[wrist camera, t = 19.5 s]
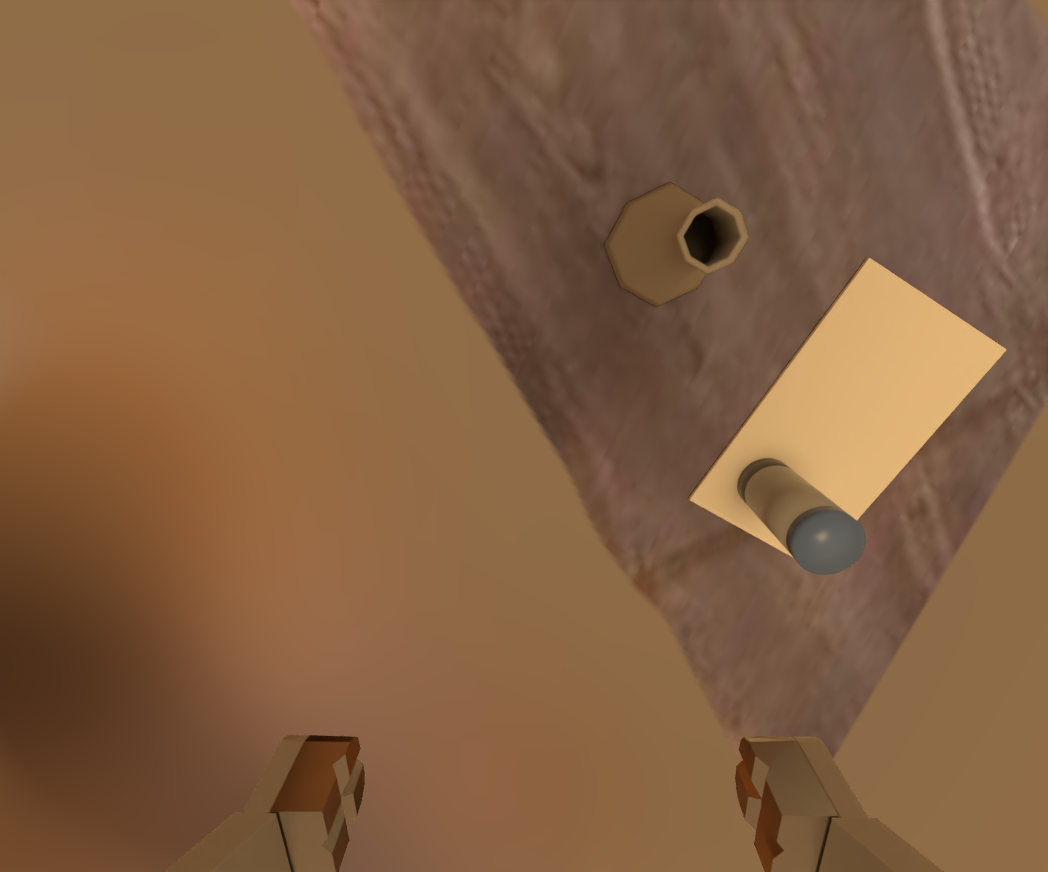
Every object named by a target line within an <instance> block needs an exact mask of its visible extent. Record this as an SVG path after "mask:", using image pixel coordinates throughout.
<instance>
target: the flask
mask: <svg viewBox="0 0 1048 872" xmlns="http://www.w3.org/2000/svg"><path fill="white" fill-rule="evenodd" d="M748 238H749V236H748V233H747V230H746V227H745V223H744V220H743V217H742V214H741V211H740V210H738V209H737V208H735V207H734V206H732V205H730V204H729V203H727V202H725V201H724V200H722V199H721V198H719V197H716V198H714V199H712V200H710V201H708V202H705V203H703V202H702V201H700V200H699V199H697V198H695V197H694V196H692V195H690V194H689V193H687V192H686V191H684V190H682V189H681V188H679V187H677V186H676V185H674V184H673V183H671V182H668V183H666V184H664V185H662V186H660V187H658V188H656V189H654V190H652V191H650V192H648V193H646V194H644V195H642V196H640V197H638V198H636V199H634V200H632V201H630V202H628V203H627V204H626V206H625V208H624V209H623V211H622V213H621V215H620V217H619V219H618V220H617V222H616V224H615V226H614V228H613V230H612V231H611V233H610V235H609V237H608V239H607V240H606V242H605V244H604V247H605V249H606V252H607V254H608V257H609V259H610V262H611V264H612V267H613V269H614V272H615V275H616V277H617V280H618V282H619V285H620V287H622V288H624V289H625V290H627V291H629V292H631V293H632V294H634V295H636V296H638V297H639V298H641V299H643V300H645V301H646V302H648V303H650V304H652V305H653V306H655V307H658V306H660V305H662V304H664V303H667V302H669V301H671V300H673V299H675V298H677V297H680V296H682V295H684V294H686V293H688V292H690V291H693V290H695V289H697V287H698V286H699V284H700V283H701V281H702V279H703V278H704V276H705V274H709V273H711V272H714V271H716V270H718V269H720V268H722V267H724V266H727V265H729V264H731V263H733V262H734V260H735V259H736V257H737V255H738V254H739V252H740V251H741V249H742V247H743V246H744V244H745V243H746V241H747V240H748Z"/></svg>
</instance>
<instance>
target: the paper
mask: <svg viewBox="0 0 1048 872" xmlns="http://www.w3.org/2000/svg"><path fill="white" fill-rule="evenodd" d="M1005 351H1006V349H1005V348H1003V347H1002V346H1000V345H999V344H997V343H996V342H994V341H993V340H991V339H990V338H988V337H987V336H985V335H984V334H983V333H981V332H980V331H978V330H977V329H975V328H974V327H972V326H971V325H969V324H968V323H966V322H965V321H963V320H962V319H960V318H959V317H957V316H956V315H954V314H953V313H951V312H950V311H948V310H947V309H945V308H944V307H942V306H941V305H939V304H938V303H936V302H935V301H933V300H932V299H930V298H929V297H927V296H926V295H924V294H923V293H921V292H920V291H918V290H917V289H915V288H914V287H912V286H911V285H909V284H908V283H906V282H905V281H903V280H902V279H900V278H899V277H898V276H896V275H895V274H893V273H892V272H890V271H889V270H887V269H886V268H884V267H883V266H881V265H880V264H878V263H877V262H875V261H874V260H872V259H871V258H866V259H865V261H864V262H863V263H862V265H861V266H860V267H859V269H858V270H857V272H856V273H855V274H854V276H853V277H852V278H851V280H850V281H849V282H848V284H847V285H846V286H845V288H844V289H843V290H842V292H841V293H840V294H839V296H838V297H837V298H836V300H835V301H834V303H833V304H832V305H831V307H830V308H829V309H828V311H827V312H826V313H825V315H824V316H823V317H822V319H821V320H820V321H819V323H818V324H817V325H816V327H815V328H814V329H813V331H812V332H811V333H810V335H809V336H808V338H807V339H806V340H805V342H804V343H803V344H802V346H801V347H800V348H799V350H798V351H797V352H796V354H795V355H794V356H793V358H792V359H791V360H790V362H789V363H788V364H787V366H786V367H785V369H784V370H783V371H782V373H781V374H780V375H779V377H778V378H777V379H776V381H775V382H774V383H773V385H772V386H771V387H770V389H769V390H768V391H767V393H766V394H765V395H764V397H763V398H762V399H761V401H760V402H759V404H758V405H757V406H756V408H755V409H754V410H753V412H752V413H751V414H750V416H749V417H748V418H747V420H746V421H745V422H744V424H743V425H742V426H741V428H740V429H739V430H738V432H737V433H736V434H735V436H734V437H733V439H732V440H731V441H730V443H729V444H728V445H727V447H726V448H725V449H724V451H723V452H722V453H721V455H720V456H719V457H718V459H717V460H716V461H715V463H714V464H713V465H712V467H711V468H710V470H709V471H708V472H707V474H706V475H705V476H704V478H703V479H702V480H701V482H700V483H699V484H698V486H697V487H696V488H695V490H694V491H693V492H692V494H691V495H690V496H689V498H688V499H689V500H690V501H692V502H694V503H696V504H698V505H699V506H701V507H703V508H705V509H707V510H708V511H710V512H712V513H714V514H716V515H717V516H719V517H721V518H723V519H725V520H726V521H728V522H730V523H732V524H734V525H735V526H737V527H739V528H741V529H743V530H744V531H746V532H748V533H750V534H752V535H753V536H755V537H757V538H759V539H761V540H762V541H764V542H766V543H768V544H770V545H772V546H773V547H775V548H777V549H779V550H781V551H782V552H784V553H786V554H788V555H790V556H791V557H793V556H792V555H791V554H790V553H789V552H788V551H787V550H786V548H785V547H784V546H783V545H782V544H781V543H780V542H779V540H778V539H777V538H776V537H775V536H774V535H773V534H772V533H771V531H770V530H769V529H768V528H767V527H766V526H765V525H764V523H763V522H762V521H761V520H760V519H759V518H758V517H757V516H756V514H755V513H754V512H753V511H752V510H751V509H750V508H749V506H748V505H747V504H746V503H745V502H744V501H743V500H742V498H741V497H740V495H739V493H738V490H737V482H738V478H739V476H740V474H741V472H742V471H743V470H744V468H745V467H747V466H748V465H749V464H750V463H752V462H754V461H756V460H759V459H764V458H772V459H777V460H779V461H781V462H783V463H784V464H785V465H787V466H788V467H789V468H791V469H792V470H793V471H794V472H796V473H797V474H798V475H799V476H801V477H802V478H803V479H805V480H806V481H807V482H808V483H810V484H811V485H812V486H813V487H815V488H816V489H817V490H819V491H820V492H821V493H822V494H824V495H825V496H826V497H827V498H829V499H830V500H831V501H833V502H834V503H835V504H836V505H838V506H839V507H840V508H841V509H843V510H844V511H845V512H847V513H848V514H849V515H850V516H852V517H853V518H854V519H855V520H858V518H859V517H860V516H861V515H862V514H863V513H864V512H865V510H866V509H867V508H868V507H869V506H870V505H871V504H872V503H873V501H874V500H875V499H876V498H877V497H878V496H879V495H880V493H881V492H882V491H883V490H884V489H885V488H886V487H887V485H888V484H889V483H890V482H891V481H892V480H893V479H894V477H895V476H896V475H897V474H898V473H899V472H900V471H901V469H902V468H903V467H904V466H905V465H906V464H907V463H908V461H909V460H910V459H911V458H912V457H913V456H914V455H915V454H916V452H917V451H918V450H919V449H920V448H921V447H922V446H923V444H924V443H925V442H926V441H927V440H928V439H929V438H930V436H931V435H932V434H933V433H934V432H935V431H936V430H937V428H938V427H939V426H940V425H941V424H942V423H943V422H944V420H945V419H946V418H947V417H948V416H949V415H950V414H951V412H952V411H953V410H954V409H955V408H956V407H957V406H958V405H959V403H960V402H961V401H962V400H963V399H964V398H965V397H966V395H967V394H968V393H969V392H970V391H971V390H972V389H973V387H974V386H975V385H976V384H977V383H978V382H979V381H980V379H981V378H982V377H983V376H984V375H985V374H986V373H987V371H988V370H989V369H990V368H991V367H992V366H993V365H994V363H995V362H996V361H997V360H998V359H999V358H1000V357H1001V356H1002V354H1003V353H1004V352H1005ZM793 558H794V557H793Z"/></svg>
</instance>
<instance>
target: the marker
mask: <svg viewBox="0 0 1048 872" xmlns="http://www.w3.org/2000/svg"><path fill="white" fill-rule="evenodd" d="M737 490H738V493H739V495H740V497H741V498H742V500H743V501H744V502H745V503H746V504H747V505H748V506H749V508H750V509H751V510H752V511H753V512H754V513H755V514H756V516H757V517H758V518H759V519H760V520H761V521H762V522H763V523H764V525H765V526H766V527H767V528H768V529H769V530H770V531H771V533H772V534H773V535H774V536H775V537H776V538H777V539H778V540H779V542H780V543H781V544H782V545H783V546H784V547H785V548H786V550H787V551H788V552H789V553H790V554H791V555H792V556H793V557H794V559H795V560H796V561H797V562H798V563H799V564H800V565H801V566H802V567H803V568H804V569H806V570H807V571H809V572H811V573H815V574H821V575H827V574H834V573H838V572H840V571H843V570H845V569H847V568H848V567H850V566H851V565H852V564H854V563H855V562H856V561H857V559H858V558H859V557H860V555H861V554H862V552H863V550H864V547H865V542H866V537H865V532H864V529H863V527H862V526H861V524H860V523H859V522H858V521H857V520H855V519H854V518H853V517H852V516H850V515H849V514H848V513H847V512H845V511H844V510H843V509H841V508H840V507H839V506H838V505H836V504H835V503H834V502H833V501H831V500H830V499H829V498H827V497H826V496H825V495H824V494H822V493H821V492H820V491H819V490H817V489H816V488H815V487H813V486H812V485H811V484H810V483H808V482H807V481H806V480H805V479H803V478H802V477H801V476H799V475H798V474H797V473H796V472H794V471H793V470H792V469H791V468H789V467H788V466H787V465H785V464H784V463H783V462H781V461H779V460H777V459H772V458H764V459H759V460H756V461H754V462H752V463H750V464H749V465H748V466H747V467H745V468H744V470H743V471H742V472H741V474H740V476H739V478H738V482H737Z"/></svg>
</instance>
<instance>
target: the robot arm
mask: <svg viewBox="0 0 1048 872" xmlns="http://www.w3.org/2000/svg"><path fill="white" fill-rule="evenodd" d="M360 749H361V748H360V744H359V740H358V737H349V736H319V735H318V736H317V735H287V736H286V737H285V738H284V739H283V740H282V741H281V742H280V743H279V745H278V747H277V749H276V751H275V752H274V754H273V756H272V758H271V760H270V762H269V763H268V765H267V767H266V769H265V771H264V772H263V774H262V776H261V778H260V780H259V782H258V784H257V785H256V787H255V789H254V791H253V793H252V795H251V796H250V798H249V800H248V802H247V804H246V806H245V808H244V809H243V811H242V813H234V814H233V815H231V816H230V817H229V818H228V819H226V820H225V821H224V822H223V823H222V824H221V825H219V826H218V827H217V828H216V829H215V830H213V831H212V832H211V833H210V834H209V835H208V836H206V837H205V838H204V839H203V840H201V841H200V842H199V843H198V844H197V845H195V846H194V847H193V848H192V849H191V850H189V851H188V852H187V853H186V854H185V855H183V856H182V857H181V858H180V859H179V860H177V861H176V862H175V863H174V864H173V865H172V866H170V867H169V868H168V869H167V870H166V871H164V872H339V869H340V866H341V863H342V860H343V857H344V854H345V851H346V848H347V845H348V842H349V836H348V830H347V826H348V825H349V824H350V823H351V822H352V821H353V820H354V819H355V818H356V817H357V815H358V811H359V809H360V805H361V802H362V797H363V791H364V785H365V771H364V765H363V763H362V762H361V761H360V760H358V759H357V757H358V754H359V751H360ZM739 752H740V754H741V757H742V759H743V760H742V761H741V762H740V763H739V764H738V765H737V766H736V774H735V782H736V790H737V796H738V800H739V804H740V807H741V810H742V812H743V816H744V818H745V820H746V821H747V822H748V823H749V824H750V825H751V826H752V827H753V828H754V829H755V830H756V835H755V842H754V845H755V848H756V850H757V853H758V856H759V858H760V861H761V863H762V866H763V868H764V871H765V872H944V871H943V870H941V869H940V868H939V867H938V866H936V865H935V864H934V863H933V862H931V861H930V860H929V859H927V858H926V857H925V856H924V855H923V854H921V853H920V852H919V851H917V850H916V849H915V848H914V847H912V846H911V845H910V844H909V843H907V842H906V841H905V840H904V839H902V838H901V837H900V836H899V835H897V834H896V833H895V832H893V831H892V830H891V829H890V828H888V827H887V826H886V825H885V824H883V823H882V822H881V821H880V820H878V819H877V818H869V817H868V816H867V814H866V812H865V811H864V809H863V807H862V806H861V804H860V803H859V801H858V799H857V797H856V796H855V794H854V793H853V791H852V789H851V788H850V786H849V784H848V783H847V781H846V779H845V778H844V776H843V774H842V773H841V771H840V770H839V768H838V766H837V765H836V763H835V761H834V760H833V758H832V756H831V755H830V753H829V751H828V750H827V748H826V746H825V745H824V743H823V742H822V741H821V740H820V739H819V738H818V737H789V736H775V737H743V738H742V739H741V741H740V746H739Z"/></svg>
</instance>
